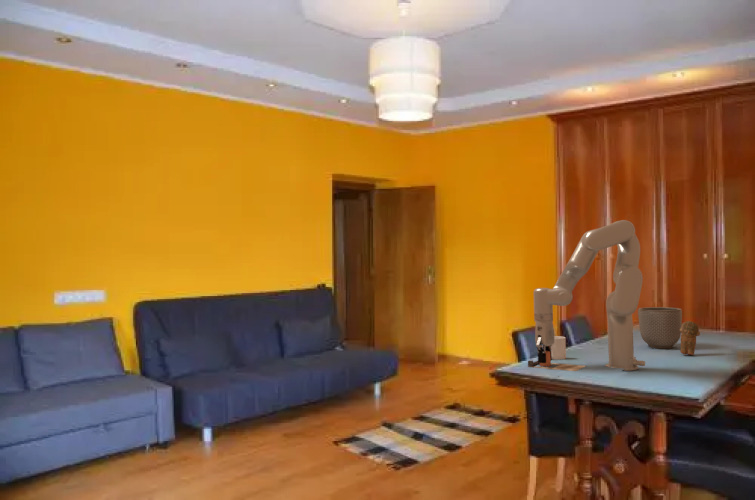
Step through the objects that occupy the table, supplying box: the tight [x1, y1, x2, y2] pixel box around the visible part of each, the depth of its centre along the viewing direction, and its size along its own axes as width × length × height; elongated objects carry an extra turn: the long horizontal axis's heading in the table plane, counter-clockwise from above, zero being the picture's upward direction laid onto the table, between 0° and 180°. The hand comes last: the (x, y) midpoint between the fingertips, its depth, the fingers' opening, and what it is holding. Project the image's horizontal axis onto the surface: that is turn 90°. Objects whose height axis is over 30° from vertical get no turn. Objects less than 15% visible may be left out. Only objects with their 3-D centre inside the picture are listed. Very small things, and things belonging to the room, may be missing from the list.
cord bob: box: [539, 351, 552, 367], centre depth 255 cm, size 4×4×7 cm
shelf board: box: [527, 360, 586, 372], centre depth 252 cm, size 20×13×4 cm, turn 54°
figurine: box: [679, 320, 701, 356], centre depth 278 cm, size 8×8×15 cm
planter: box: [637, 306, 683, 350], centre depth 302 cm, size 20×20×19 cm
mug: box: [551, 335, 567, 360], centre depth 272 cm, size 12×8×10 cm
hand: (544, 361), depth 255 cm, fingers open, 5 cm apart
